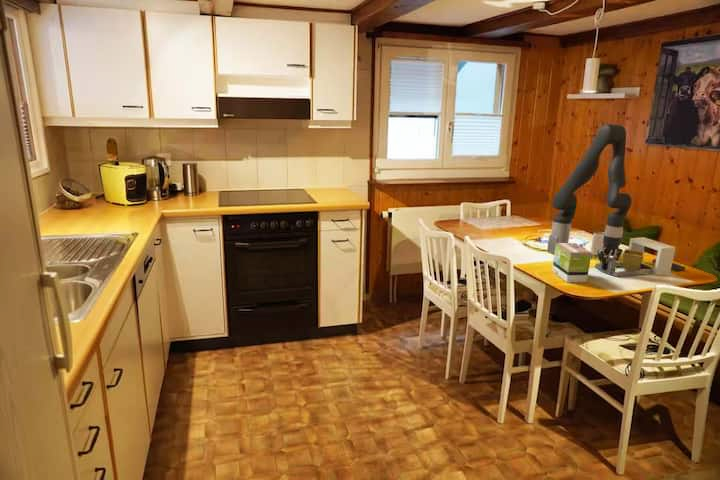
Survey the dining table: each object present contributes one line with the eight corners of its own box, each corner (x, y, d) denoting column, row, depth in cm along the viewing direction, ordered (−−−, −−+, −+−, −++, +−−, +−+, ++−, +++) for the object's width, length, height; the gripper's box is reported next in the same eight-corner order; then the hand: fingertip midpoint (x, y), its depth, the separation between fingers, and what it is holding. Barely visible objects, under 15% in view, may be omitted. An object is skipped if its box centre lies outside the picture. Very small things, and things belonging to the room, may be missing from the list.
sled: (615, 276, 229) (617, 262, 227) (593, 267, 241) (595, 254, 239) (652, 273, 236) (655, 259, 234) (629, 264, 249) (631, 251, 247)
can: (598, 256, 261) (602, 234, 258) (587, 253, 266) (591, 232, 263) (605, 254, 265) (609, 233, 261) (594, 251, 270) (597, 230, 266)
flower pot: (639, 274, 235) (642, 256, 232) (619, 270, 240) (622, 252, 237) (641, 269, 242) (645, 252, 239) (621, 265, 247) (625, 248, 244)
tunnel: (655, 275, 234) (661, 248, 231) (625, 263, 251) (630, 238, 247) (669, 273, 237) (675, 247, 233) (638, 262, 253) (643, 237, 250)
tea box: (551, 271, 234) (555, 242, 230) (571, 271, 235) (575, 242, 231) (566, 282, 220) (571, 251, 216) (587, 283, 221) (592, 251, 217)
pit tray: (676, 271, 241) (677, 267, 241) (652, 262, 254) (653, 259, 253) (684, 270, 243) (685, 267, 242) (659, 261, 255) (660, 258, 255)
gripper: (607, 237, 225) (601, 273, 230) (631, 236, 229) (624, 270, 234) (595, 233, 232) (589, 268, 237) (618, 232, 236) (612, 265, 241)
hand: (606, 269), depth 235 cm, fingers closed on sled, 3 cm apart
